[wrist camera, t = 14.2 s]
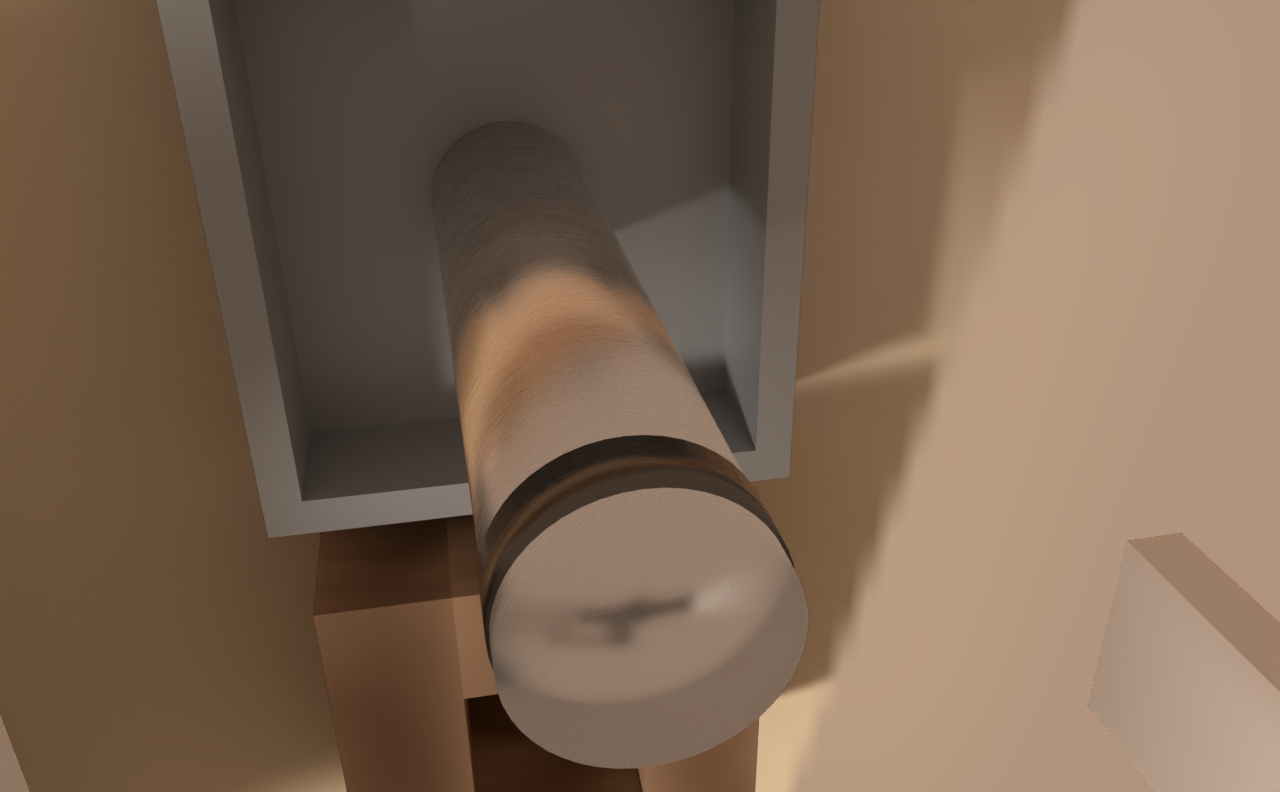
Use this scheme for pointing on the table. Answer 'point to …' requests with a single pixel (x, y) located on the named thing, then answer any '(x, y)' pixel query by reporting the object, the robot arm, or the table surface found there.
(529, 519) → the pin
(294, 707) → the table surface
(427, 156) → the tray
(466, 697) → the wooden square socket block
